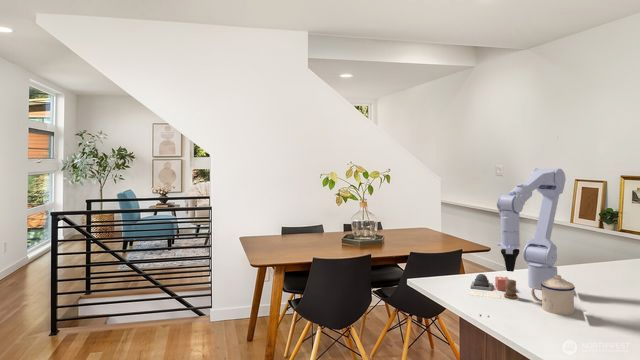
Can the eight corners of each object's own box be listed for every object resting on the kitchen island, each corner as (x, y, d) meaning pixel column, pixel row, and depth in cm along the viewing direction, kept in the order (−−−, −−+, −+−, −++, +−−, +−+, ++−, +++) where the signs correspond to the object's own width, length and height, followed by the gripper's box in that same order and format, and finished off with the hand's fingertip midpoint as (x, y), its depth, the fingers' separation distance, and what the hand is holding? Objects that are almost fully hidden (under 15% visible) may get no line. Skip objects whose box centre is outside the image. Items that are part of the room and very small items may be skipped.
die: (507, 287, 156) (507, 276, 156) (509, 291, 152) (509, 279, 152) (495, 287, 157) (495, 275, 156) (497, 290, 153) (497, 278, 153)
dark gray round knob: (489, 285, 159) (489, 273, 158) (488, 289, 154) (488, 276, 154) (475, 284, 161) (475, 271, 160) (474, 287, 156) (473, 275, 156)
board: (521, 290, 155) (521, 285, 155) (520, 306, 139) (520, 300, 139) (468, 285, 163) (468, 280, 163) (462, 299, 147) (462, 294, 147)
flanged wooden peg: (517, 296, 146) (517, 279, 146) (517, 299, 142) (517, 283, 142) (504, 294, 148) (504, 278, 147) (503, 298, 144) (503, 281, 144)
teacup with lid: (577, 311, 133) (577, 274, 132) (570, 320, 126) (571, 281, 126) (535, 303, 141) (535, 268, 140) (527, 311, 134) (527, 274, 134)
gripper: (498, 227, 152) (498, 264, 153) (495, 233, 139) (495, 275, 140) (520, 227, 149) (520, 266, 150) (519, 234, 136) (519, 277, 137)
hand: (510, 271), depth 145 cm, fingers closed
